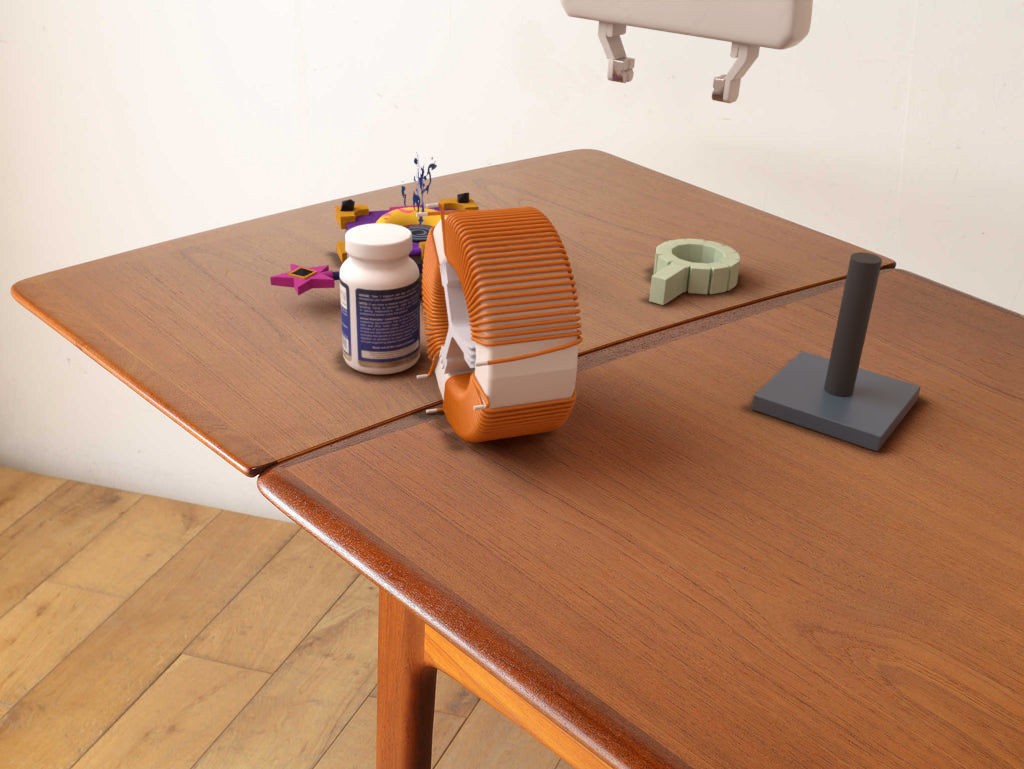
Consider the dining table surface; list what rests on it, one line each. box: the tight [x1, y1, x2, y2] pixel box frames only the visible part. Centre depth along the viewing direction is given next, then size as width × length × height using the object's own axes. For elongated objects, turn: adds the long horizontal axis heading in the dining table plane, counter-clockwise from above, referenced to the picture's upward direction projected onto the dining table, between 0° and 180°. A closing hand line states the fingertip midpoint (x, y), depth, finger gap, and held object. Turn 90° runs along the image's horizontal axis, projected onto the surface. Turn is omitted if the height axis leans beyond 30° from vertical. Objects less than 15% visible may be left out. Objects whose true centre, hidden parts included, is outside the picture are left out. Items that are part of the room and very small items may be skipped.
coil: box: [416, 202, 584, 444], centre depth 67 cm, size 7×15×15 cm, turn 20°
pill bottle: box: [339, 223, 421, 375], centre depth 76 cm, size 6×6×10 cm
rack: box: [751, 251, 922, 452], centre depth 72 cm, size 9×9×11 cm
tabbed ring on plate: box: [648, 238, 741, 306], centre depth 93 cm, size 7×11×2 cm
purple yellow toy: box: [269, 151, 480, 298], centre depth 90 cm, size 14×25×12 cm, turn 108°
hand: (670, 90), depth 84 cm, fingers open, 8 cm apart
